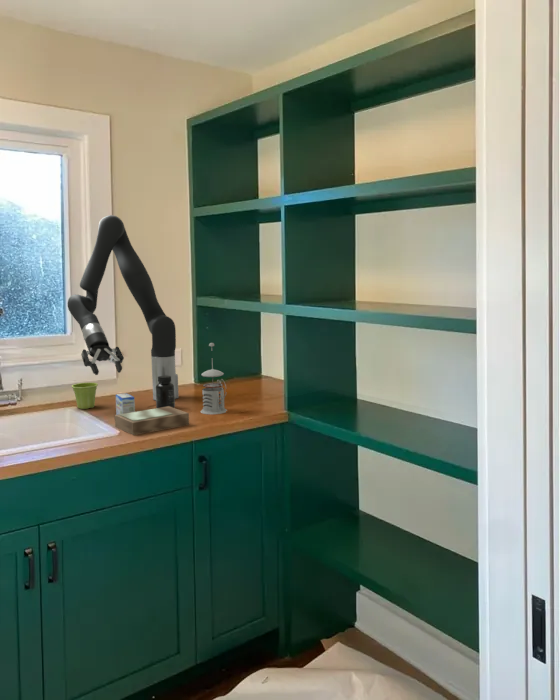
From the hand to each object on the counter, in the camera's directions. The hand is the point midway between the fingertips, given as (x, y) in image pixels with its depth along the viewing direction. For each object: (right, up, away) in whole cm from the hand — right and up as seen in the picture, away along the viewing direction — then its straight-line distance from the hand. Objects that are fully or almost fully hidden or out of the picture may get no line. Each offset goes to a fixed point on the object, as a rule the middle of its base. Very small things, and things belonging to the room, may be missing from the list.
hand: (108, 372), depth 235 cm
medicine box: (+8, -16, -8) cm, 20 cm away
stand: (+19, -17, -17) cm, 31 cm away
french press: (+38, -14, +2) cm, 41 cm away
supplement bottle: (+19, -14, +9) cm, 25 cm away
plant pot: (-12, -14, +13) cm, 23 cm away
